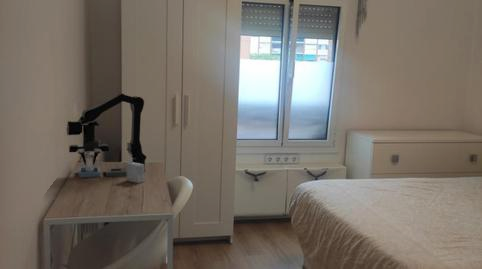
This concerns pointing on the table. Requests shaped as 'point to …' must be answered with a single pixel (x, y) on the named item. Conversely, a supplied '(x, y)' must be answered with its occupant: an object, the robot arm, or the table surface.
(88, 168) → the grey rounded piece
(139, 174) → the medicine box
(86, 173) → the parts tray
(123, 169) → the grey flat square frame
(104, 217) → the table surface
